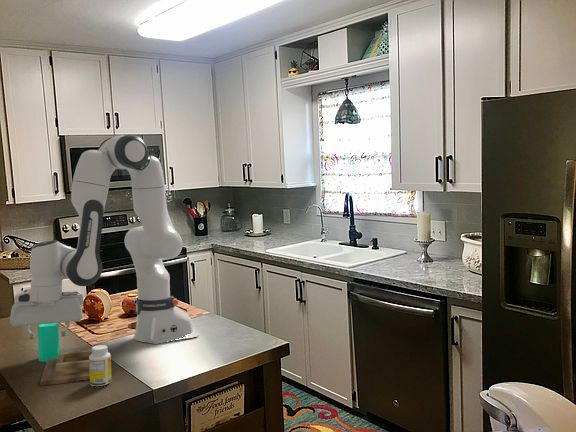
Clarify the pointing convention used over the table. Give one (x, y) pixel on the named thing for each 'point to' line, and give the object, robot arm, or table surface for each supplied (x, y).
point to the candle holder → (67, 368)
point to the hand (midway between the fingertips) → (47, 337)
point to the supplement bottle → (100, 366)
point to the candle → (48, 341)
